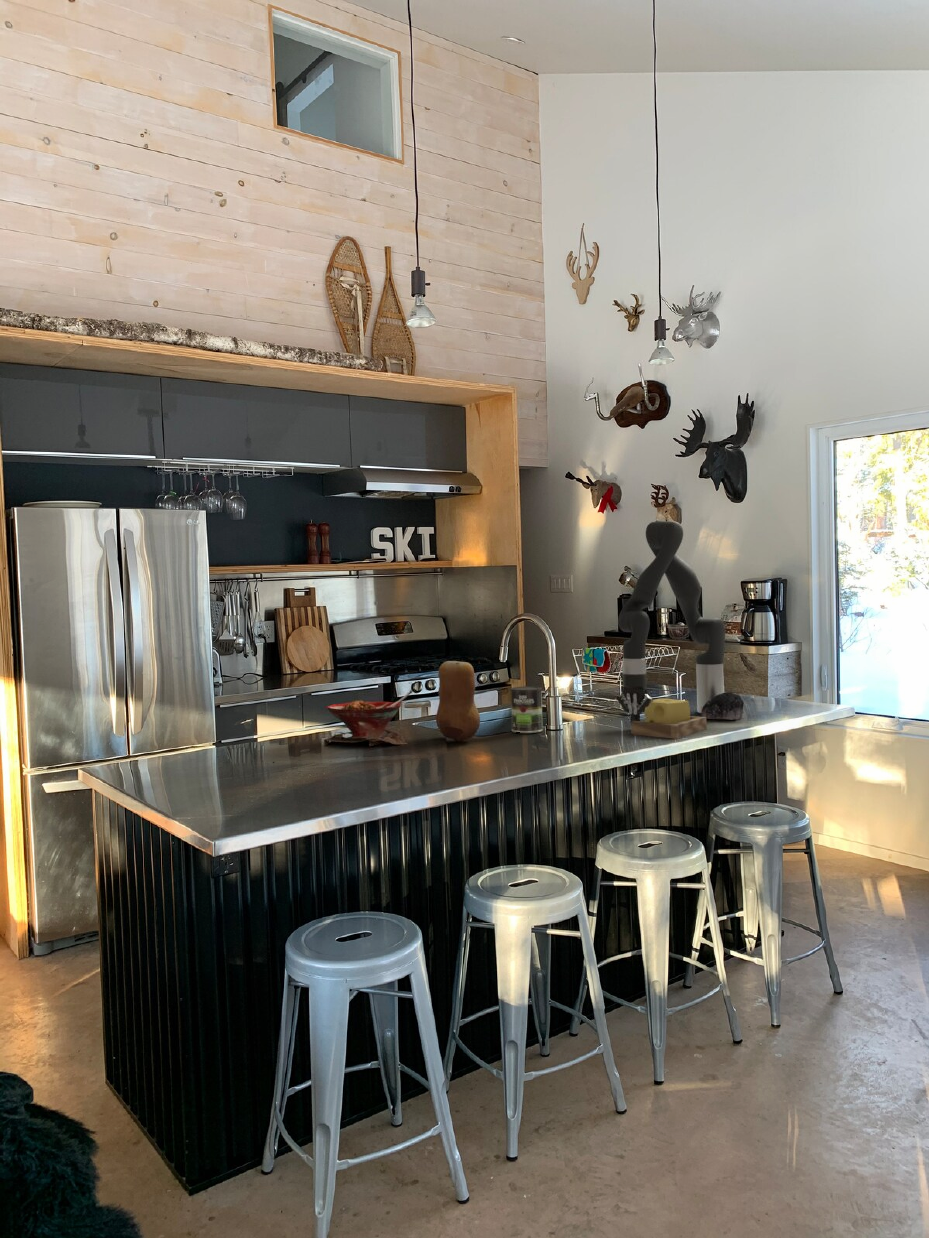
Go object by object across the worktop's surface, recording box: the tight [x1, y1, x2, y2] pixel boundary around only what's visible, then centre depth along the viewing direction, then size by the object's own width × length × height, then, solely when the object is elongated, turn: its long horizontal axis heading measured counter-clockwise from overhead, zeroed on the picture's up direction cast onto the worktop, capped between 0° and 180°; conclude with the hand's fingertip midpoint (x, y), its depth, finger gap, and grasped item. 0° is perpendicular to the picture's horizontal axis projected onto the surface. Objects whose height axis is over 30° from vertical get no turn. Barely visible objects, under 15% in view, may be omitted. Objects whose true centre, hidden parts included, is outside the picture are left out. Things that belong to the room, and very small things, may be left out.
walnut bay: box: [630, 715, 707, 740], centre depth 301 cm, size 19×16×4 cm
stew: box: [323, 689, 413, 747], centre depth 301 cm, size 28×24×16 cm
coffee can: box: [509, 685, 544, 734], centre depth 313 cm, size 10×10×14 cm
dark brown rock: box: [701, 691, 745, 721], centre depth 321 cm, size 13×14×10 cm
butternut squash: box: [435, 660, 481, 742], centre depth 300 cm, size 14×13×25 cm
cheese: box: [643, 697, 691, 724], centre depth 302 cm, size 10×11×10 cm
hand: (635, 725), depth 309 cm, fingers closed
